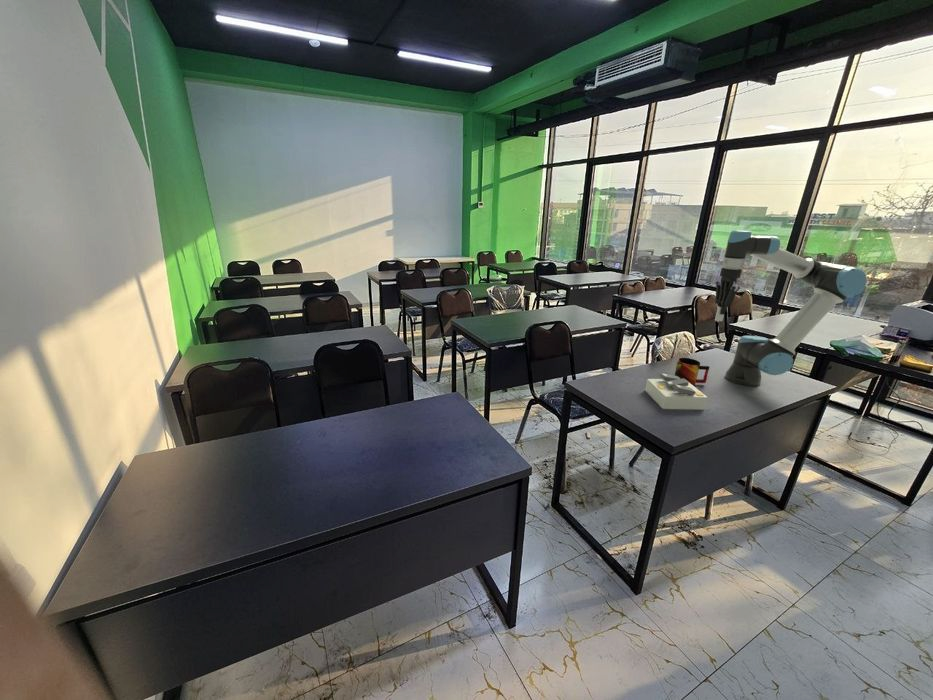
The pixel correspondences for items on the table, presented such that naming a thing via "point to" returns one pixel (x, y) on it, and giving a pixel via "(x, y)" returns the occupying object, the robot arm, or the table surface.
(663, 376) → the block
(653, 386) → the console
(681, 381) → the block
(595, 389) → the table surface
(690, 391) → the block
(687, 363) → the mug
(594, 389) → the table surface
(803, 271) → the robot arm
